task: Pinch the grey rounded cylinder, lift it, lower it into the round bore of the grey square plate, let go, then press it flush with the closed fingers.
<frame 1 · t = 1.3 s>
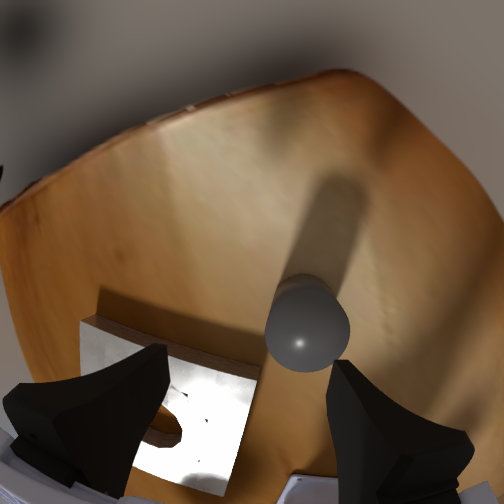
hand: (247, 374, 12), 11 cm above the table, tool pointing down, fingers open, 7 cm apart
grey rounded cylinder: (302, 303, 22), on the table
grey square plate: (161, 411, 24), on the table
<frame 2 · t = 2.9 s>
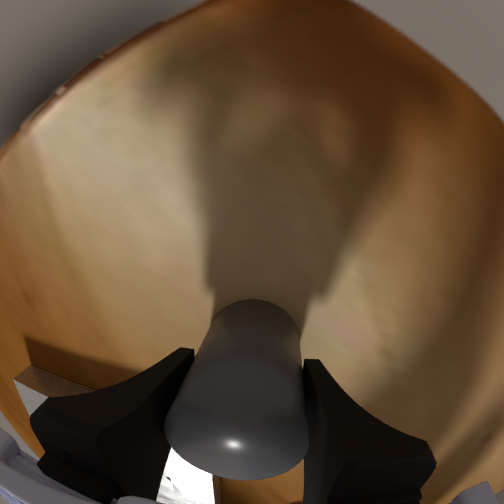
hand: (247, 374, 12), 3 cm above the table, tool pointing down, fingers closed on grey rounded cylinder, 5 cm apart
grey rounded cylinder: (253, 340, 14), on the table, touching gripper
grey square plate: (128, 458, 18), on the table
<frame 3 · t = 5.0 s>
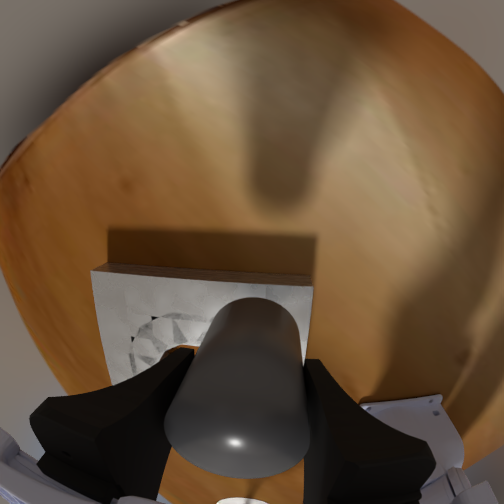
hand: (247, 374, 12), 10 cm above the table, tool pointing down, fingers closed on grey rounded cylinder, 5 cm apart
grey rounded cylinder: (254, 338, 14), point 7 cm above the table, touching gripper
grey square plate: (202, 360, 23), on the table
when the fingers open (3 cm above the table, at t = 7.5 s): grey rounded cylinder stays where it is, resting in grey square plate.
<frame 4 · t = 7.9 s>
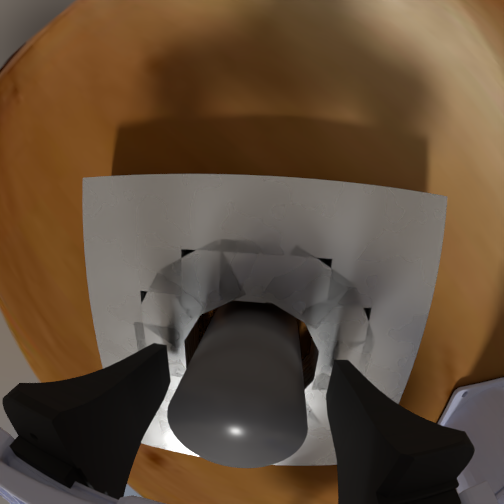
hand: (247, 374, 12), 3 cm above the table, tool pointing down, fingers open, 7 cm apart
grey rounded cylinder: (254, 333, 15), resting in grey square plate
grey square plate: (254, 336, 15), on the table
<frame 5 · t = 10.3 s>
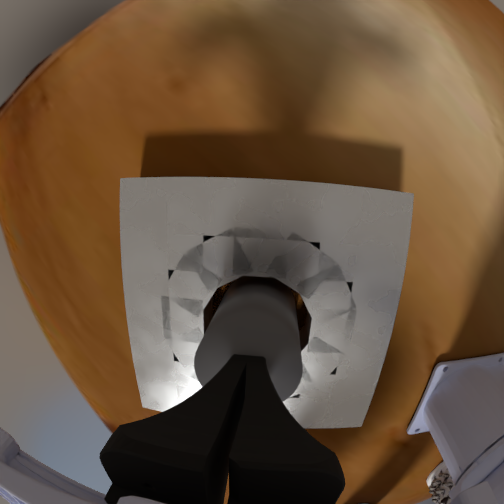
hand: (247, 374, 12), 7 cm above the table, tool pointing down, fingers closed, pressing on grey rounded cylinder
grey rounded cylinder: (258, 307, 18), resting in grey square plate, touching gripper
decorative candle: (454, 465, 21), on the table
grey square plate: (259, 310, 18), on the table
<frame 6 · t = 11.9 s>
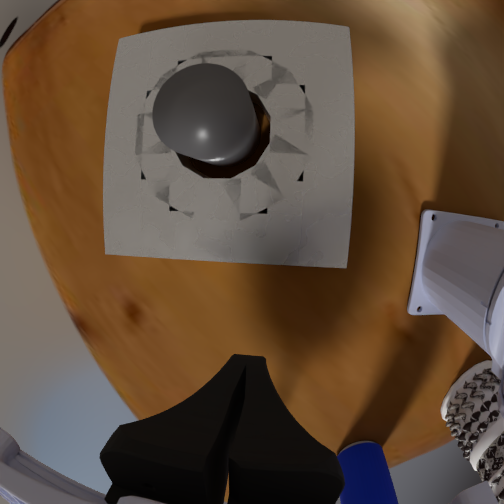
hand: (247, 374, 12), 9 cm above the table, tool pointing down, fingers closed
grey rounded cylinder: (226, 133, 19), resting in grey square plate
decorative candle: (471, 391, 21), on the table
grey square plate: (226, 136, 19), on the table
beverage can: (357, 451, 24), on the table
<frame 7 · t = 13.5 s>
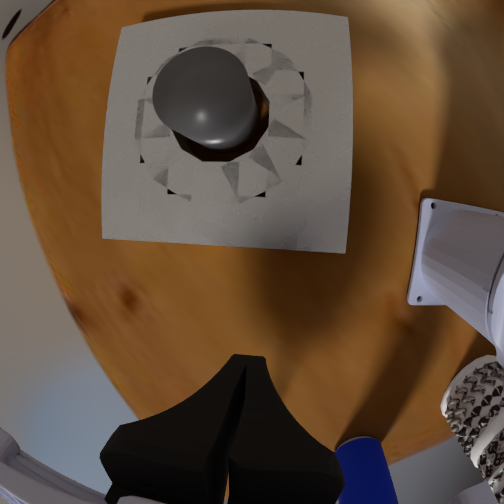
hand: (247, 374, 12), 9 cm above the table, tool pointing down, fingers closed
grey rounded cylinder: (225, 120, 18), resting in grey square plate
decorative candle: (471, 387, 21), on the table
grey square plate: (225, 122, 18), on the table
beverage can: (356, 447, 24), on the table
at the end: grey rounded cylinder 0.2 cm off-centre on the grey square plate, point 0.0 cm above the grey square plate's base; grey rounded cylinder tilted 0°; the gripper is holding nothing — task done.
